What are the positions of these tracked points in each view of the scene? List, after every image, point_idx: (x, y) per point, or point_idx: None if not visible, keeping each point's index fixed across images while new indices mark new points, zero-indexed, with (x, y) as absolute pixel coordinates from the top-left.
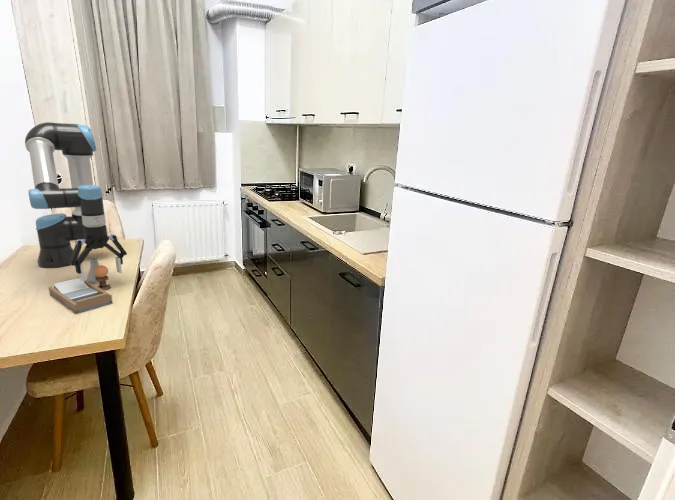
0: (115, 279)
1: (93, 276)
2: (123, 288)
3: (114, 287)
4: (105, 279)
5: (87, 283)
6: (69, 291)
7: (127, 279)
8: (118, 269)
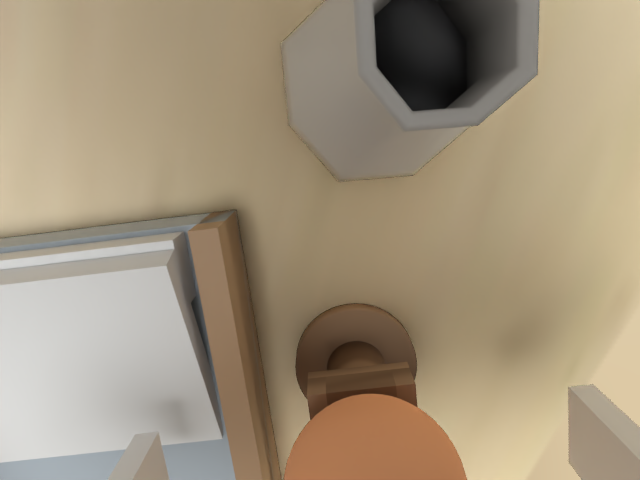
0: (532, 180)
1: (340, 148)
2: (481, 458)
3: (435, 392)
4: None
5: (219, 394)
6: (55, 445)
7: (616, 257)
8: (593, 466)
